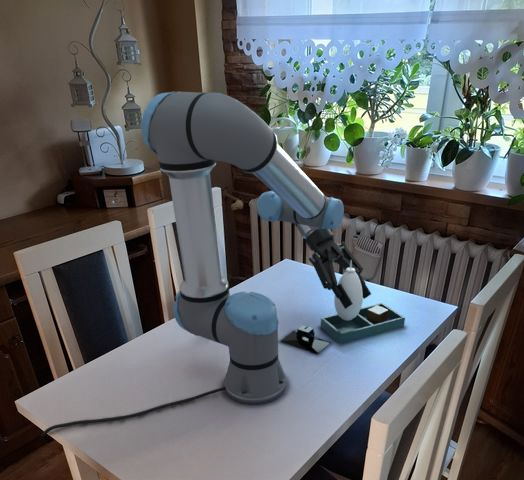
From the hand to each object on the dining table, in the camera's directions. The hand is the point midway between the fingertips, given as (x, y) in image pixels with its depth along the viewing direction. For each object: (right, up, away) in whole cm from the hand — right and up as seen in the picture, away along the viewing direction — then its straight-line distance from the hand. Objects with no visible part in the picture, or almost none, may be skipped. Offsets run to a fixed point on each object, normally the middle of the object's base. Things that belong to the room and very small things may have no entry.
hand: (358, 301), depth 135 cm
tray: (+3, -7, +10) cm, 12 cm away
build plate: (-14, -12, +4) cm, 19 cm away
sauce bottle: (-2, -5, +6) cm, 8 cm away
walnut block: (+8, -5, +11) cm, 15 cm away
